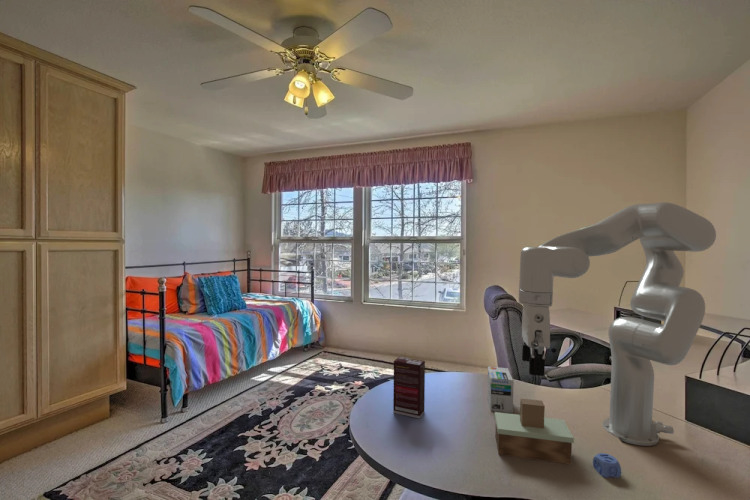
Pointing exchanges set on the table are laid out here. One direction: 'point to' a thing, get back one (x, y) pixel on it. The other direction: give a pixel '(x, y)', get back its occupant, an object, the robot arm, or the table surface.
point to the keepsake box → (533, 448)
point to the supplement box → (409, 387)
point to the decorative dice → (606, 465)
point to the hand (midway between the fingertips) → (532, 367)
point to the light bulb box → (500, 389)
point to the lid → (533, 423)
